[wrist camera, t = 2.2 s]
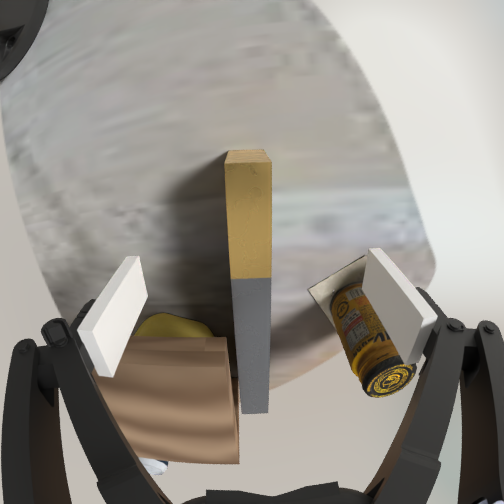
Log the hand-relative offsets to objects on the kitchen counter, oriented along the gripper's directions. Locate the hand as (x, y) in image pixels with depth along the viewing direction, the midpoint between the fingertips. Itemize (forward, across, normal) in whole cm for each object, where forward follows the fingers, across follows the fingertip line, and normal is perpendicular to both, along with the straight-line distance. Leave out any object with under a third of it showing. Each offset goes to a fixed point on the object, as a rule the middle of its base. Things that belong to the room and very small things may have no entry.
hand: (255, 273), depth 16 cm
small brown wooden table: (+12, -8, -16) cm, 21 cm away
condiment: (+12, +11, -10) cm, 20 cm away
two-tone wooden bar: (+12, 0, -8) cm, 14 cm away
